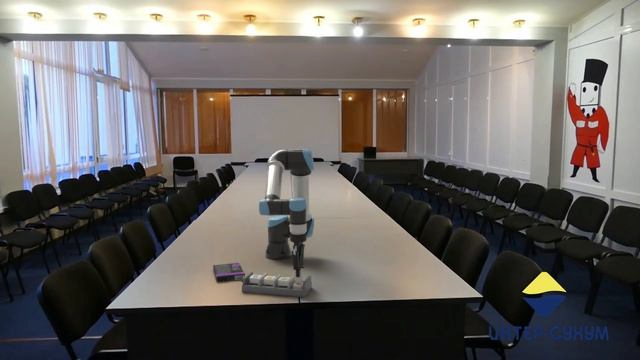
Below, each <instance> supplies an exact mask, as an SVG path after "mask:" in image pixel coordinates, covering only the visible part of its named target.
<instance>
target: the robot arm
mask: <svg viewBox="0 0 640 360" xmlns="http://www.w3.org/2000/svg"><path fill="white" fill-rule="evenodd" d="M313 156H314V155H313V151H312V150H311V149H310V148H282V149H279V150H277V151H275V152H273V153H272V155H270V157H269V158H268V160H267V162H266V172H267V175H266V182H265V183H266V184H265V190H264V198H263V199H259V202H258V212H259V213H258V214H259V215H260V216H268V217H269V216H271V217H269V218H268V220H267V240H268V241H267V245H266V249H265V253H264V255H265V257H266V258H267V259H269V260H270V259H271V260H283V259H288V258H290V257H292V265H293V267H292V268H293V270H294V272H295V273H294V275H295V283H299V284H301V283H302V281H303V269H304V268H305V266H304V258H305V247H306V245H305V242H306V241H307V239H308V238H312V237H313V234H314V226H315V218H314V217H313V216H312V214H311V213H310V186H309V185H310V177H309V176H310V175H312V171H314V170H315V166H314V157H313ZM284 171H289V174H290V175H291V176H292V178H293V179H292V183H293V185H292V187H293V188H292V189H293V198H291V199H289V198H288V199H287V198H285V199H284V198H282V199H281V194H282V191H281V190H282V181H283V173H284ZM289 241H290V242H291V243H293V246H292V249H291V247H290V244H289V243H290V242H289Z"/></svg>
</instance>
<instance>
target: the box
mask: <svg viewBox="0 0 640 360" xmlns="http://www.w3.org/2000/svg"><path fill="white" fill-rule="evenodd" d="M212 268H213V269H212V270H213V274H214V277H215V281H216V283H219V282H220V283H221V282H228V281H238V280H243V277H245V276H246V274H245V272H244V270H243V268H242V266H241V264H240V262H233V263H222V264H212Z"/></svg>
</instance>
